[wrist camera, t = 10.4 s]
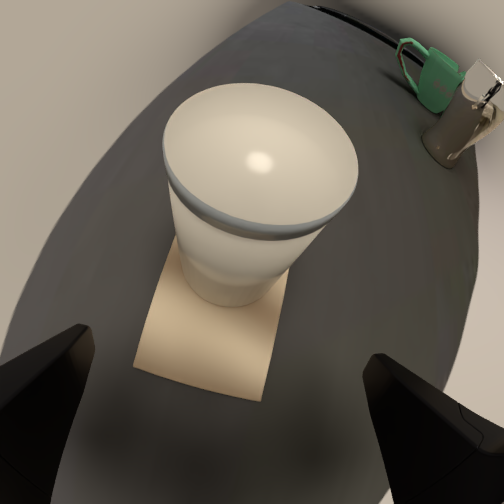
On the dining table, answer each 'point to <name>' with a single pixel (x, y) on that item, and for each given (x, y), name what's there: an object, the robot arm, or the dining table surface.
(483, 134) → the beer glass
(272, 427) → the dining table surface
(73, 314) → the dining table surface
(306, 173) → the white lidded jar
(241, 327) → the mat
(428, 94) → the mug
